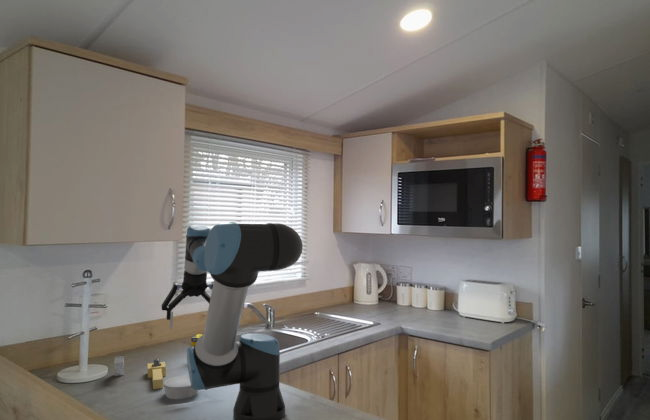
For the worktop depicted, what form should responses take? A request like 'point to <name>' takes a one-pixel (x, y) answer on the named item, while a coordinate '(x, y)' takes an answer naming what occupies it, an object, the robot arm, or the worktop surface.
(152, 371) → the link
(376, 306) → the worktop surface
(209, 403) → the worktop surface
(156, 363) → the pintle post
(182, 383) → the ramekin
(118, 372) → the keeper
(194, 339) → the supplement box
